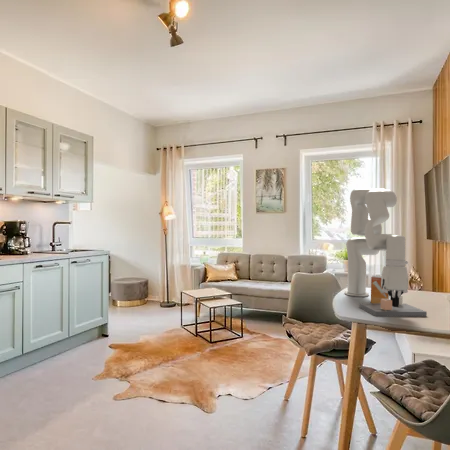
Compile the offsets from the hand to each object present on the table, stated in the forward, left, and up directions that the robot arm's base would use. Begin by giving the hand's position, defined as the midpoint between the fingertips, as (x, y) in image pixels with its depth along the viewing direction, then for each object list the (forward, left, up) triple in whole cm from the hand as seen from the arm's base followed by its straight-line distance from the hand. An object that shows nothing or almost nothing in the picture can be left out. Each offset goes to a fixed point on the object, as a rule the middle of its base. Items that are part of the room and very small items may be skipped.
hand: (394, 306), depth 152 cm
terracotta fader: (0, -4, -1) cm, 4 cm away
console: (-5, +1, -4) cm, 6 cm away
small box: (-23, +5, -4) cm, 24 cm away
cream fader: (-10, +6, -1) cm, 12 cm away
